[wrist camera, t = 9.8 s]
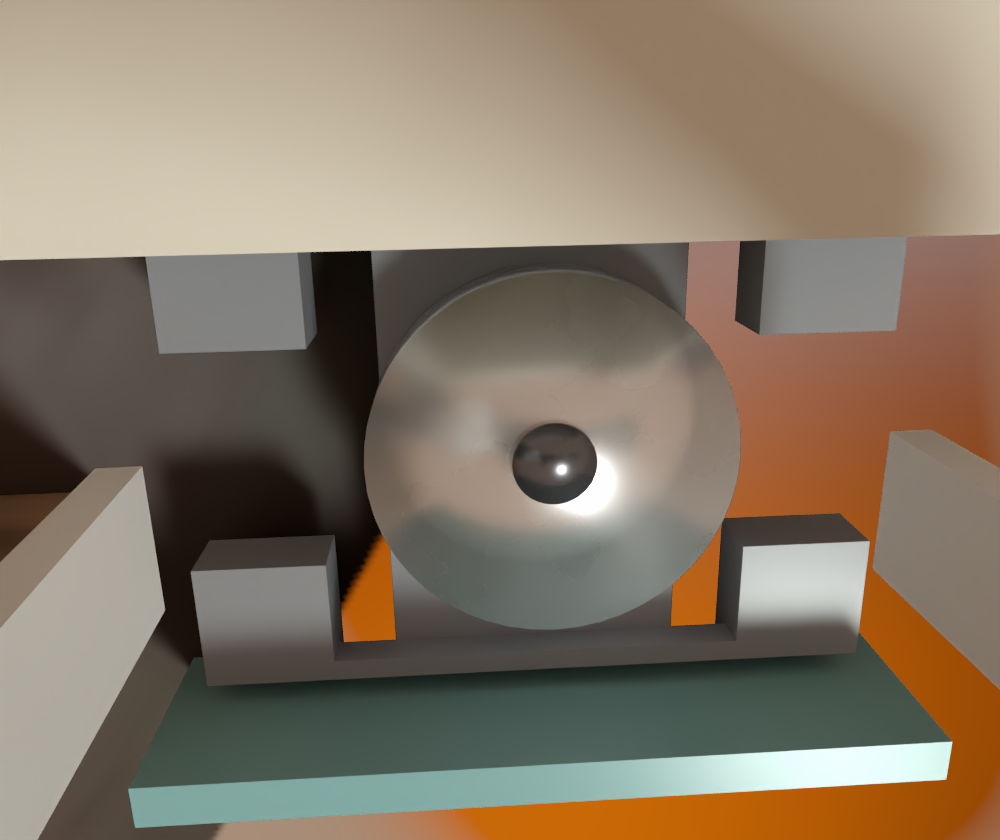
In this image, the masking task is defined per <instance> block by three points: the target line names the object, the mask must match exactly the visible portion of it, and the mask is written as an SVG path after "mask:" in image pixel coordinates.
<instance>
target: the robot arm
mask: <svg viewBox="0 0 1000 840" xmlns="http://www.w3.org/2000/svg"><path fill="white" fill-rule="evenodd" d="M873 570H874V571H875V572H876V573H878V575H880V576H881V577H882V578H883V579H884V580H885V581H886V582H887V583H888V584H889V585H890V586H891V587H892V588H893V589H894V590H895V591H897V592H898V593H899V594H900V595H901V596H902V597H903V598H904V599H905V600H906V601H907V602H908V603H909V604H910V605H911V606H912V607H913V608H914V609H915V610H916V611H917V612H919V613H920V614H921V615H922V616H923V617H924V618H925V619H926V620H927V621H928V622H929V623H930V624H931V625H932V626H933V627H934V628H935V629H936V630H938V631H939V632H940V633H941V634H942V635H943V636H944V637H945V638H946V639H947V640H948V641H949V642H950V643H951V644H953V646H954V647H955V648H956V649H958V650H959V651H960V652H961V653H962V654H963V655H964V656H965V657H966V658H967V659H968V660H969V661H970V662H971V663H973V665H974V666H975V667H977V668H978V669H979V670H980V671H981V672H982V673H983V674H984V675H985V676H986V677H987V678H988V679H989V680H990V681H991V682H992V683H993V684H994V685H995V686H997V687H998V688H999V689H1000V468H998V467H996V466H994V465H993V464H991V463H989V462H987V461H986V460H984V459H982V458H980V457H978V456H977V455H975V454H973V453H971V452H970V451H968V450H966V449H964V448H963V447H961V446H959V445H957V444H955V443H954V442H952V441H950V440H948V439H947V438H944V437H943V436H941V435H939V434H938V433H936V432H934V431H932V430H915V431H894V432H890V438H889V446H888V453H887V462H886V469H885V477H884V484H883V492H882V499H881V507H880V515H879V522H878V530H877V538H876V545H875V553H874V560H873ZM164 611H165V606H164V600H163V594H162V587H161V581H160V575H159V568H158V562H157V556H156V550H155V543H154V537H153V531H152V525H151V518H150V512H149V506H148V500H147V493H146V487H145V481H144V475H143V468H142V466H139V467H117V468H96V469H94V470H93V471H92V472H91V473H90V474H89V475H88V476H87V477H86V478H85V479H84V480H83V481H82V482H81V483H80V484H79V485H78V486H77V487H76V488H75V489H74V490H73V491H72V492H71V493H70V494H69V495H68V496H67V497H66V498H65V499H64V500H63V501H62V502H61V503H60V504H59V505H58V506H57V507H56V508H55V509H54V510H53V511H52V512H51V513H50V514H49V515H48V516H47V517H46V518H45V519H44V520H43V521H42V522H41V523H40V524H39V525H38V526H37V527H36V528H35V529H34V530H33V531H31V532H30V533H29V534H28V535H27V536H26V537H25V538H24V539H23V540H22V541H21V542H20V543H19V544H18V545H17V546H16V547H15V548H14V549H13V550H12V551H11V552H10V553H9V554H8V555H7V556H6V557H5V558H4V559H3V560H2V561H1V562H0V840H38V838H39V836H40V834H41V832H42V831H43V829H44V827H45V825H46V823H47V822H48V820H49V818H50V816H51V814H52V813H53V811H54V809H55V807H56V806H57V804H58V802H59V800H60V798H61V797H62V795H63V793H64V791H65V789H66V788H67V786H68V784H69V782H70V780H71V779H72V777H73V775H74V773H75V771H76V770H77V768H78V766H79V764H80V762H81V761H82V759H83V757H84V755H85V753H86V752H87V750H88V748H89V746H90V744H91V743H92V741H93V739H94V737H95V735H96V734H97V732H98V730H99V728H100V726H101V725H102V723H103V721H104V719H105V717H106V716H107V714H108V712H109V710H110V708H111V707H112V705H113V703H114V701H115V699H116V698H117V696H118V694H119V692H120V691H121V689H122V687H123V685H124V683H125V682H126V680H127V678H128V676H129V674H130V673H131V671H132V669H133V667H134V665H135V664H136V662H137V660H138V658H139V656H140V655H141V653H142V651H143V649H144V647H145V646H146V644H147V642H148V640H149V638H150V637H151V635H152V633H153V631H154V629H155V628H156V626H157V624H158V622H159V620H160V619H161V617H162V615H163V613H164Z"/></svg>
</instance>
